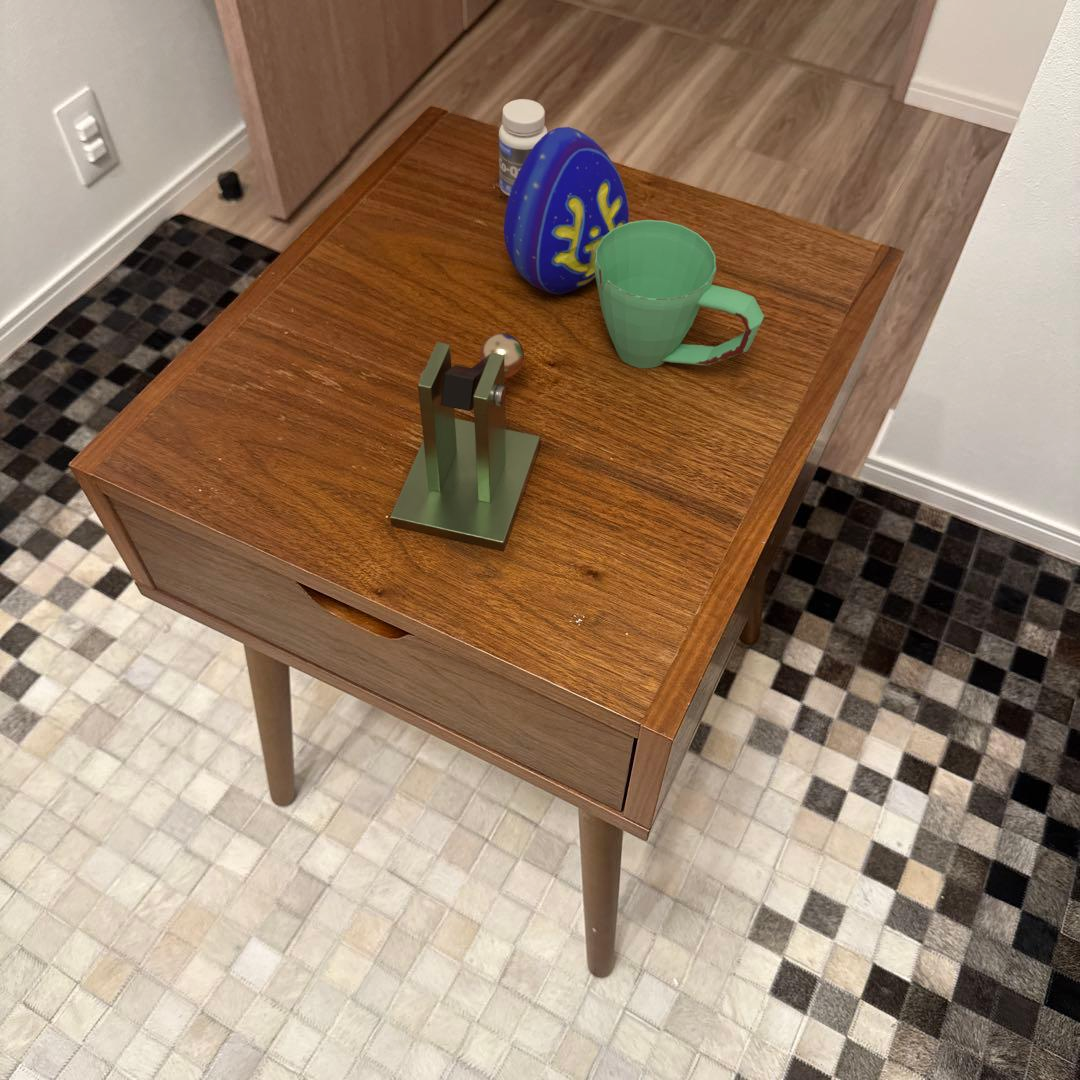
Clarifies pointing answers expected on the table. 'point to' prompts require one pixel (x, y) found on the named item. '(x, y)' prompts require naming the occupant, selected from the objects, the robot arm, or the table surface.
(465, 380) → the lever
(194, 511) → the table surface
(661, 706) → the table surface
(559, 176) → the ornament
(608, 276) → the mug
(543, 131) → the pill bottle
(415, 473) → the bracket
